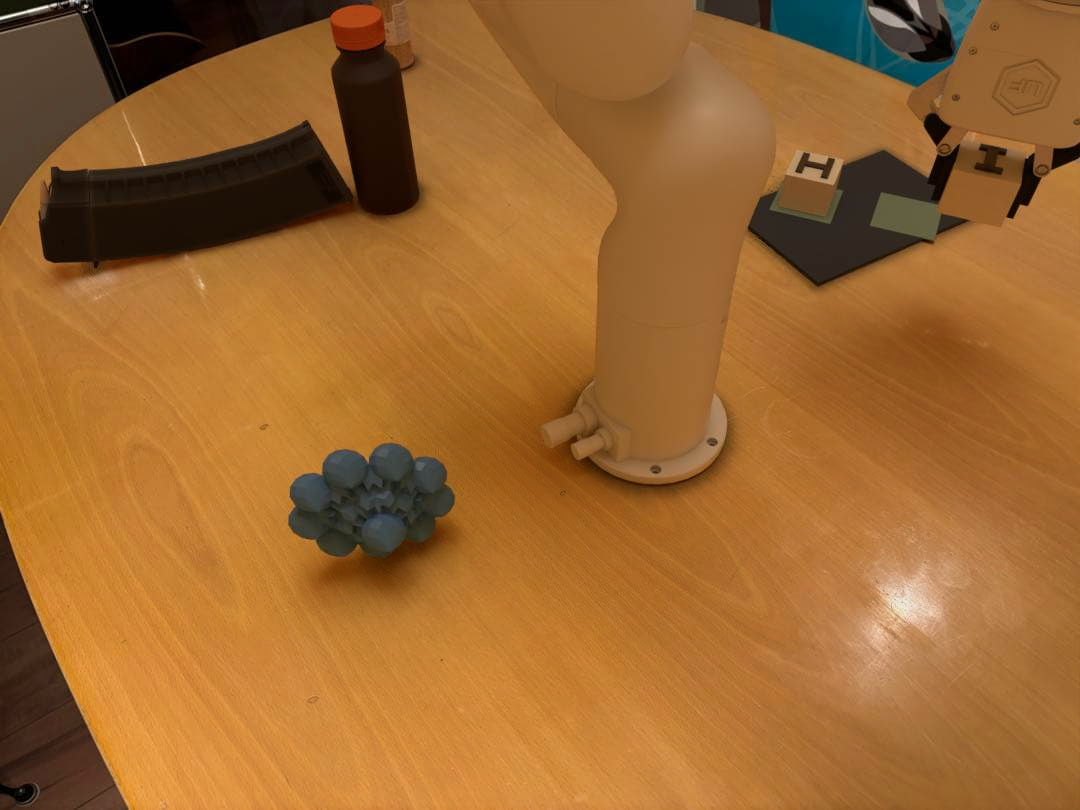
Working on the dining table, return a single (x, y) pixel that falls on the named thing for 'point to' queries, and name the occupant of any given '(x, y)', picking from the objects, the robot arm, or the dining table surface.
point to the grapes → (370, 501)
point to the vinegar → (373, 111)
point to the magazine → (188, 200)
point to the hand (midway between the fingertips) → (974, 198)
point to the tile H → (810, 183)
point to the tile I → (982, 183)
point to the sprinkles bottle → (396, 29)
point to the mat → (854, 219)
